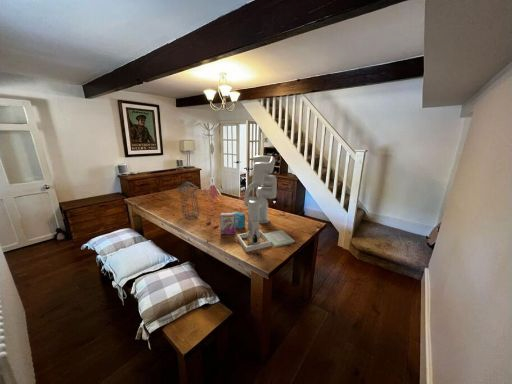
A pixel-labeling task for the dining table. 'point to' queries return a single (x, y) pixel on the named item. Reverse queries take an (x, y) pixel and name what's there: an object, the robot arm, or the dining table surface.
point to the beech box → (250, 238)
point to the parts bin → (256, 246)
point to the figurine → (213, 193)
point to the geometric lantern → (189, 197)
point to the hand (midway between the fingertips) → (253, 240)
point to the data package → (239, 220)
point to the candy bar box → (227, 223)
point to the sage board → (279, 238)
